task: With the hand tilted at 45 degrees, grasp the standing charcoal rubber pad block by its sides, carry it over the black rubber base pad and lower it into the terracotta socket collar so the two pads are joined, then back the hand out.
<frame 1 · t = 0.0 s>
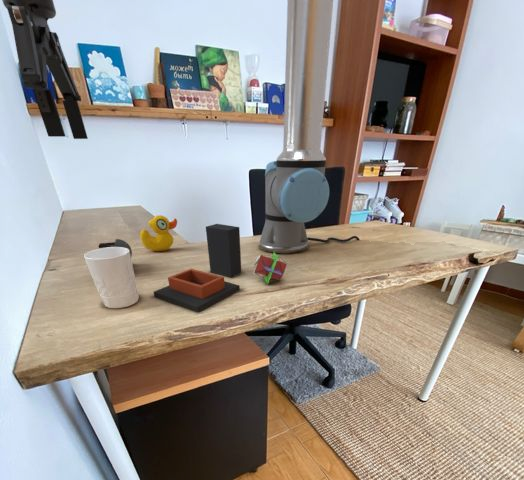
hand: (70, 138, 60), 28 cm above the table, tool pointing down, fingers open, 13 cm apart
geometric puzzle: (270, 282, 70), on the table
duckling: (162, 251, 91), on the table
white cup: (122, 302, 61), on the table
pad block: (225, 272, 74), on the table
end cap: (120, 271, 76), on the table
base pad: (198, 293, 64), on the table
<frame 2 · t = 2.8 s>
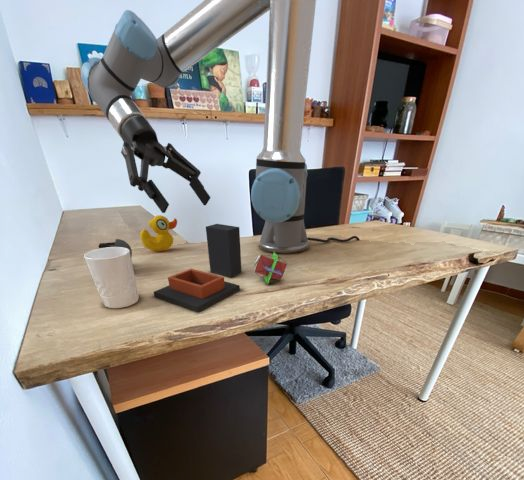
hand: (188, 205, 71), 15 cm above the table, tool tilted 45°, fingers open, 13 cm apart
nothing on the table moved.
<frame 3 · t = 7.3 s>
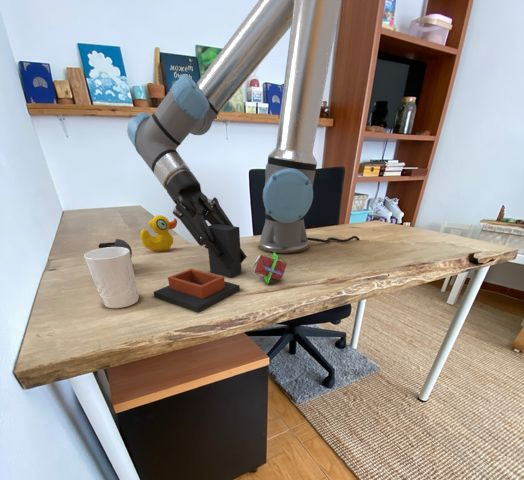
hand: (236, 262, 71), 3 cm above the table, tool tilted 45°, fingers closed on pad block, 4 cm apart
pad block: (225, 272, 74), on the table, touching gripper
everything else where it was.
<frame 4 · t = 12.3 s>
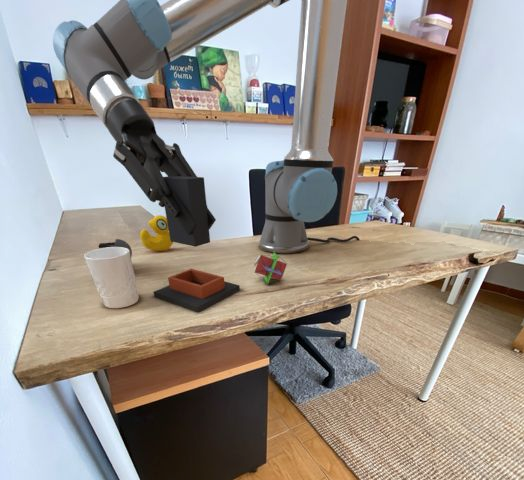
hand: (202, 227, 54), 14 cm above the table, tool tilted 45°, fingers closed on pad block, 4 cm apart
pad block: (190, 241, 58), point 11 cm above the table, touching gripper
everything else where it was.
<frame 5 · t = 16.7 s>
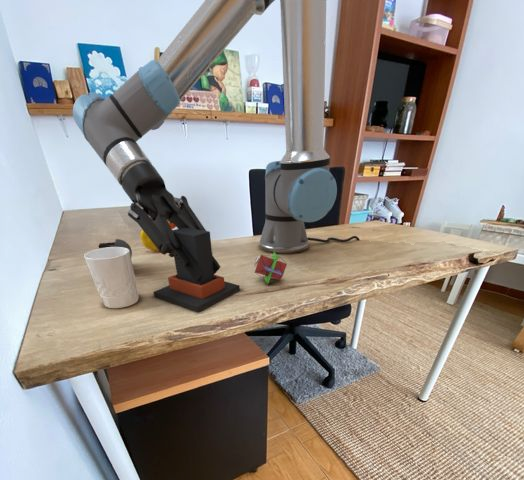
hand: (208, 274, 59), 5 cm above the table, tool tilted 45°, fingers closed on pad block, 4 cm apart
pad block: (197, 285, 63), point 2 cm above the table, touching gripper
everything else where it was.
when the fingers open (5 cm above the table, at t = 17.7 s): pad block drops 1 cm, resting on base pad.
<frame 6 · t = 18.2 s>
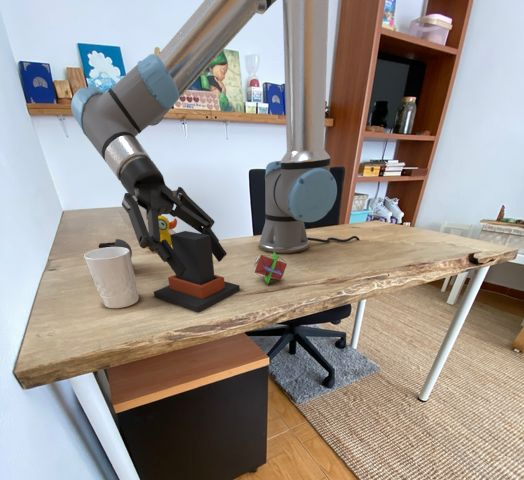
hand: (204, 265, 59), 7 cm above the table, tool tilted 45°, fingers open, 11 cm apart
pad block: (197, 288, 63), point 1 cm above the table, touching base pad
everything else where it was.
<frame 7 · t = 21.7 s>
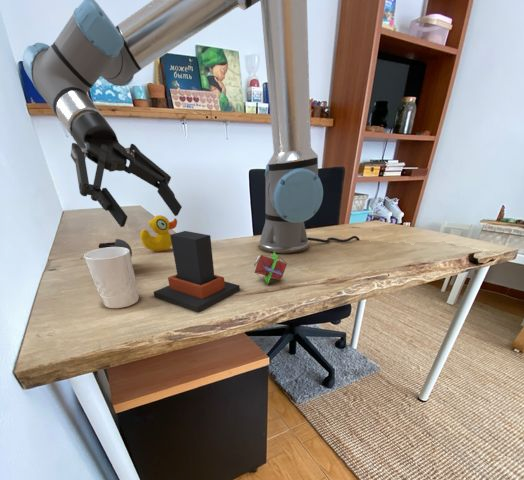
hand: (153, 216, 60), 15 cm above the table, tool tilted 45°, fingers open, 13 cm apart
nothing on the table moved.
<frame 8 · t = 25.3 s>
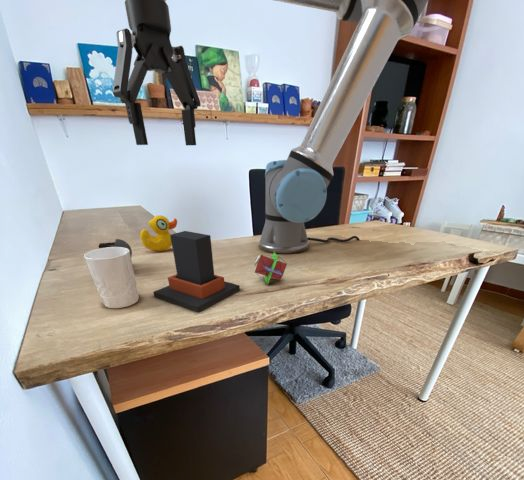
hand: (168, 145, 64), 27 cm above the table, tool pointing down, fingers open, 13 cm apart
nothing on the table moved.
at the end: pad block 0.0 cm off-centre on the base pad, point 1.2 cm above the base pad's base; pad block tilted 0°; the gripper is holding nothing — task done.
